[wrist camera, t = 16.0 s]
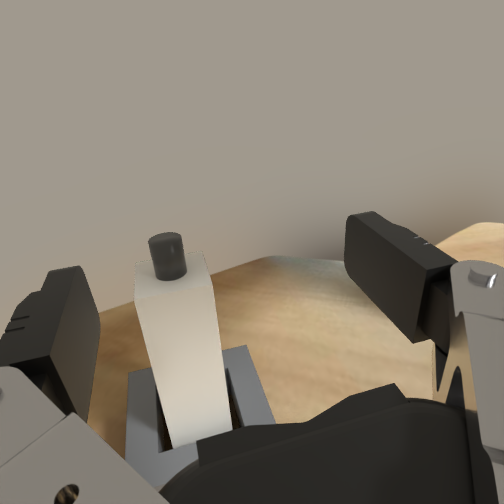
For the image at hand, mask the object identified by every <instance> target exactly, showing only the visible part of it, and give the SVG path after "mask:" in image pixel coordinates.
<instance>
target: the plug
mask: <svg viewBox="0 0 504 504" xmlns="http://www.w3.org/2000/svg"><path fill="white" fill-rule="evenodd" d="M148 243H149V248H150V253H151V257H152V260H148V261H142V262H136V263H135V284H134V302H135V306H136V310H137V314H138V318H139V321H140V325H141V329H142V333H143V337H144V340H145V344H146V348H147V352H148V355H149V359H150V363H151V367H152V371H153V374H154V378H155V382H156V386H157V389H158V393H159V397H160V401H161V405H162V408H163V412H164V416H165V420H166V424H167V427H168V431H169V435H170V439H171V442H172V446H173V449H176V448H179V447H183V446H186V445H190V444H193V443H196V441H197V440H200V439H204V438H207V437H210V436H214V435H217V434H221V433H224V432H228V431H231V430H232V422H231V415H230V408H229V401H228V393H227V386H226V379H225V372H224V364H223V357H222V350H221V342H220V335H219V328H218V321H217V313H216V306H215V299H214V292H213V284H212V281H211V278H210V275H209V272H208V268H207V265H206V262H205V259H204V255H203V252H202V251H199V252H194V253H188V254H184V249H183V244H182V238H181V235H180V234H178V233H173V232H167V233H161V234H158V235H155V236H153V237H151V238H150V239H149V241H148Z"/></svg>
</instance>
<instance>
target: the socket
mask: <svg viewBox="0 0 504 504" xmlns="http://www.w3.org/2000/svg"><path fill="white" fill-rule="evenodd" d="M222 357H223V364H224V372H225V379H226V386H227V393H228V396H229V395H232V399H233V402H234V406H235V410H236V413H237V417H238V421H239V424H240V428H241V427H245V426H248V425H266V424H276V422H275V420H274V417H273V414H272V412H271V409H270V406H269V404H268V401H267V398H266V396H265V393H264V390H263V388H262V385H261V382H260V380H259V377H258V375H257V372H256V369H255V367H254V364H253V361H252V359H251V356H250V353H249V351H248V348H247V345H243V346H239V347H235V348H231V349H227V350H222ZM163 413H164V412H163V408H162V405H161V401H160V397H159V393H158V389H157V386H156V382H155V378H154V374H153V371H152V367H151V368H147V369H142V370H138V371H134V372H130V373H129V375H128V399H127V422H126V446H125V461H126V462H127V463H128V464H129V465H130V466H131V467H132V468H133V469H134V470H135V471H136V472H137V473H138V474H140V475H141V476H142V477H143V478H144V479H145V480H146V481H147V482H148V483H149V484H150V485H151V486H152V487H153V488H154V489H155V490H156V491H157V492H159V491H160V490H161V489H162V487H163V486H164V485H165V484H166V483H167V482H168V481H169V480H170V479H172V478H173V477H174V476H175V475H176V474H177V473H178V472H180V471H181V470H182V469H184V468H185V467H186V466H187V465H189V464H191V463H192V462H194V461H196V460H197V459H198V452H197V445H196V443H193V444H190V445H186V446H183V447H179V448H176V449H172V450H169V451H165V444H164V427H163Z"/></svg>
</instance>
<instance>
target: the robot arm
mask: <svg viewBox="0 0 504 504" xmlns="http://www.w3.org/2000/svg"><path fill="white" fill-rule="evenodd" d="M344 264H345V268H346V271H347V273H348V275H349V277H350V278H351V279H352V280H353V281H354V282H355V283H356V284H357V285H358V286H359V287H360V288H361V289H362V291H363V292H364V293H365V294H366V295H367V296H368V297H369V298H370V299H371V300H372V301H373V302H374V303H375V304H376V305H377V306H378V307H379V308H380V310H381V311H382V312H383V313H384V314H385V315H386V316H387V317H388V318H389V319H390V320H391V321H392V322H393V323H394V324H395V325H396V326H397V327H398V329H399V330H400V331H401V332H402V333H403V334H404V335H405V336H406V337H407V338H408V339H409V340H410V341H411V342H412V343H413V344H414V343H417V342H421V341H425V340H428V339H431V340H432V341H433V342H434V344H433V348H432V388H433V400H427V399H419V398H406V397H405V396H404V395H403V394H402V392H401V391H400V390H399V388H398V387H397V386H396V385H395V383H392V384H389V385H385V386H382V387H379V388H375V389H372V390H368V391H365V392H361V393H358V394H355V395H351V396H349V397H347V398H345V399H344V400H342V401H340V402H339V403H337V404H336V405H334V406H332V407H331V408H329V409H327V410H326V411H324V412H322V413H321V414H319V415H318V416H316V417H314V418H313V419H311V420H309V421H307V422H303V423H286V424H266V425H248V426H245V427H241V428H238V429H234V430H231V431H228V432H224V433H221V434H217V435H214V436H210V437H207V438H204V439H200V440H197V441H196V445H197V452H198V459H197V460H196V461H194V462H192V463H191V464H189V465H187V466H186V467H185V468H184V469H182V470H181V471H180V472H178V473H177V474H176V475H175V476H174V477H173V478H172V479H170V480H169V481H168V482H167V483H166V484H165V485H164V486H163V487H162V489H161V490H160V491H159V492H157V491H156V490H155V489H154V488H153V487H152V486H151V485H150V484H149V483H148V482H147V481H146V480H145V479H144V478H143V477H142V476H141V475H140V474H138V473H137V472H136V471H135V470H134V469H133V468H132V467H131V466H130V465H129V464H128V463H127V462H126V461H125V460H124V459H123V458H122V457H121V456H120V455H119V454H118V453H117V452H116V451H115V450H113V449H112V448H111V447H110V446H109V445H108V444H107V443H106V442H105V441H104V440H103V439H102V438H101V437H100V436H99V435H98V434H97V433H96V432H95V431H94V430H93V429H92V428H91V427H90V426H89V425H87V419H88V412H89V405H90V398H91V392H92V385H93V378H94V371H95V365H96V358H97V351H98V344H99V338H100V319H99V314H98V311H97V308H96V305H95V302H94V299H93V296H92V294H91V291H90V288H89V285H88V282H87V280H86V277H85V274H84V272H83V270H82V268H81V267H80V266H73V267H68V268H63V269H57V270H52V271H49V272H48V274H47V277H46V279H45V282H44V284H43V286H42V288H41V291H37V292H33V293H31V294H29V296H27V297H26V298H25V299H24V300H23V301H22V302H21V303H20V304H19V305H18V306H17V307H16V309H15V311H14V313H13V315H12V317H11V322H9V323H8V325H7V327H6V329H5V333H4V334H3V335H2V337H1V339H0V504H504V268H503V267H501V266H498V265H496V264H492V263H489V262H484V261H476V260H467V261H460V262H458V261H457V260H455V259H454V258H452V257H450V256H449V255H447V254H446V253H444V252H443V251H441V250H440V249H438V248H437V247H435V246H433V245H432V244H428V242H427V241H426V240H424V239H423V238H421V237H418V235H416V234H415V233H413V232H412V231H410V230H409V229H407V228H405V227H402V226H399V225H396V224H393V223H391V222H389V221H388V220H386V219H384V218H383V217H382V216H380V215H379V214H377V213H376V212H373V211H370V212H365V213H360V214H355V215H350V216H349V217H348V218H347V221H346V233H345V251H344Z"/></svg>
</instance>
